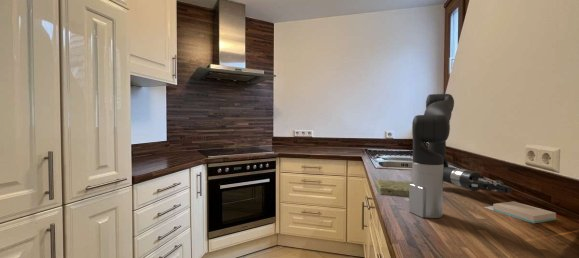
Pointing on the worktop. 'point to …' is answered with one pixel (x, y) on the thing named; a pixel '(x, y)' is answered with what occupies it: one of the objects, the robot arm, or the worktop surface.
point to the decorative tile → (393, 187)
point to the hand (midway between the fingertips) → (509, 190)
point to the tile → (524, 212)
